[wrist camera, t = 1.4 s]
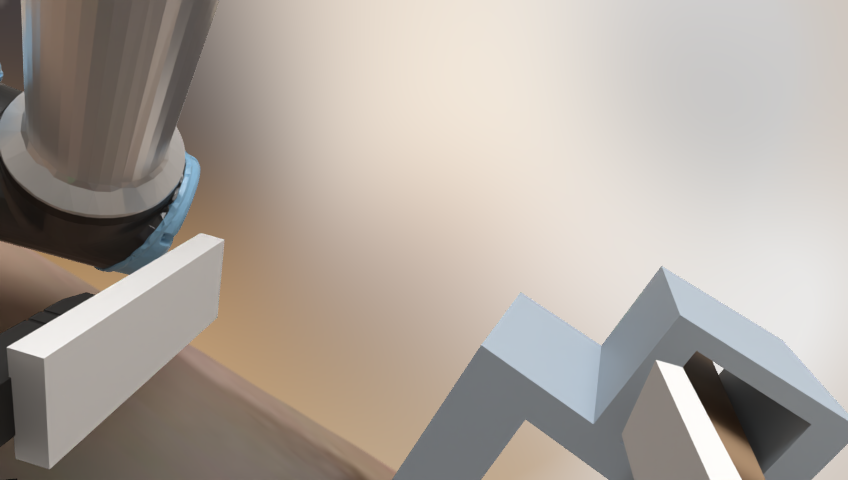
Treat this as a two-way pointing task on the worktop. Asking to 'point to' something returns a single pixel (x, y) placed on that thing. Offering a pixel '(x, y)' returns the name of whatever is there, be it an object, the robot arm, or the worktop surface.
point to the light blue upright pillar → (626, 388)
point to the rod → (722, 415)
